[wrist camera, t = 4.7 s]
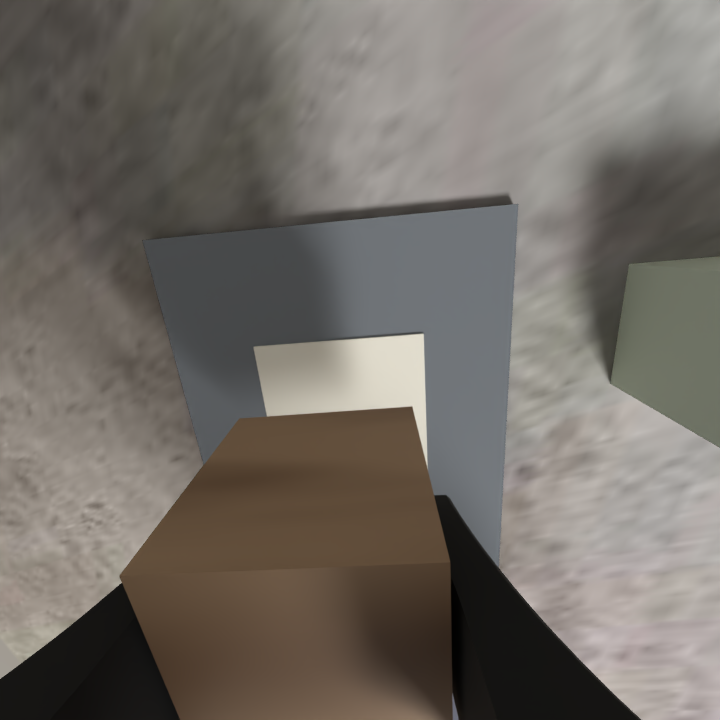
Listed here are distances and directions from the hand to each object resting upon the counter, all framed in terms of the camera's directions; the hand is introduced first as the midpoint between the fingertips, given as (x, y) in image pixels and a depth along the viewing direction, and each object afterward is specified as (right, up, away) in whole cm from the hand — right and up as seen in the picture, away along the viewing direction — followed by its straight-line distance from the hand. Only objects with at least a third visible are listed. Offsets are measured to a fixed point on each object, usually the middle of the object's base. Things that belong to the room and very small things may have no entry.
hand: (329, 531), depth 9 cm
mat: (0, 0, +7) cm, 7 cm away
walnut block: (0, +1, +1) cm, 2 cm away
